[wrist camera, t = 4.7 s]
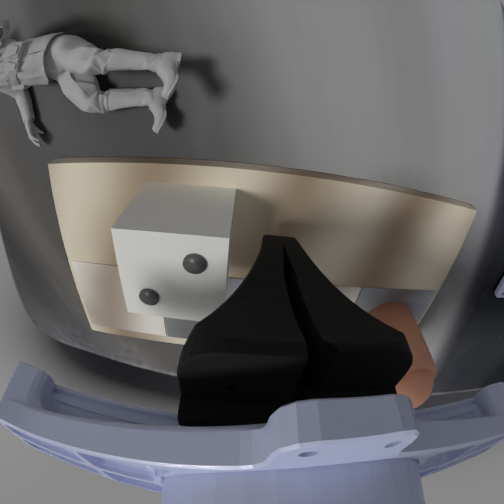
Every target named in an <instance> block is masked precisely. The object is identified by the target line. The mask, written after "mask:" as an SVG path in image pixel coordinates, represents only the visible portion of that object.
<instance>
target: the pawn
mask: <svg viewBox="0 0 504 504" xmlns="http://www.w3.org/2000/svg"><path fill="white" fill-rule="evenodd" d="M368 313H369V314H370V315H372V316H374V317H375V318H377V319H378V320H380V321H382V322H383V323H385V324H387V325H389V326H391V327H393V328H395V329H397V330H398V331H400V332H402V333H404V335H405V337H406V339H407V342H408V344H409V347H410V349H411V352H412V355H413V362H412V365H411V367H410V369H409V370H408V372H407V373H406V374H405V376H404V377H403V378H402V379H401V380H400V382H399V383H398V384H397V385H396V386H395V388H396V391H397V394H401V395H406V396H408V397H409V399H410V400H411V402H412V405H413V409H414V408H416V407H418V406H420V405H421V404H423V403H424V402H425V400H427V398H428V397H429V395H430V394H431V391H432V388H433V382H434V378H435V376H436V374H437V369H436V366H435V364H434V361H433V359H432V357H431V354H430V352H429V349H428V347H427V345H426V342H425V340H424V338H423V336H422V333H421V331H420V329H419V327H418V325H417V322H416V320H415V318H414V316H413V314H412V312H411V310H410V308H409V306H408V305H407V304H405V303H403V302H398V301H394V302H388V303H384V304H382V305H379V306H377V307H375V308H374V309H372V310H371V311H370V312H368Z"/></svg>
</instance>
